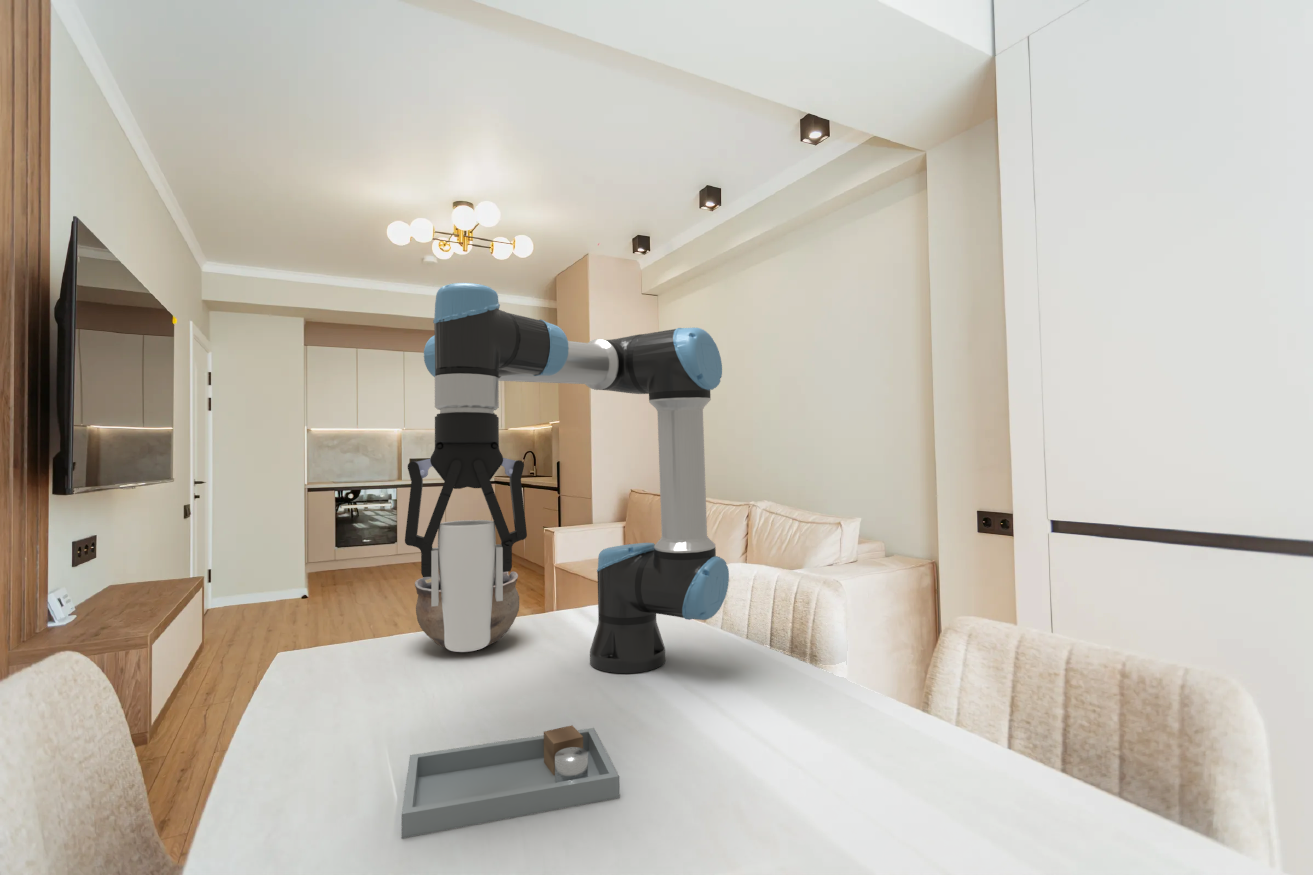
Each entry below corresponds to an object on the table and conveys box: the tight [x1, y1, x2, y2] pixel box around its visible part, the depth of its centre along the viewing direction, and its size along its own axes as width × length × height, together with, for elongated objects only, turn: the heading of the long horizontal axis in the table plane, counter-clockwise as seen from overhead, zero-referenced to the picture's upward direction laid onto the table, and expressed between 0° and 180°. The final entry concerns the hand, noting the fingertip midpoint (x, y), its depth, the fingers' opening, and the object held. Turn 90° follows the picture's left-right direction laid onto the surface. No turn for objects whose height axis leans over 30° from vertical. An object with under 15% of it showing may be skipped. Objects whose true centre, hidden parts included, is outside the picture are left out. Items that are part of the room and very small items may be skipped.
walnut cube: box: [543, 724, 583, 775], centre depth 82 cm, size 4×4×4 cm
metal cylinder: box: [555, 747, 588, 783], centre depth 77 cm, size 4×4×4 cm
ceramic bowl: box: [414, 571, 520, 649], centre depth 137 cm, size 22×22×15 cm
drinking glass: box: [437, 519, 497, 653], centre depth 76 cm, size 7×7×15 cm
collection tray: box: [401, 727, 621, 839], centre depth 77 cm, size 24×14×3 cm, turn 108°
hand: (467, 600), depth 76 cm, fingers closed on drinking glass, 7 cm apart
